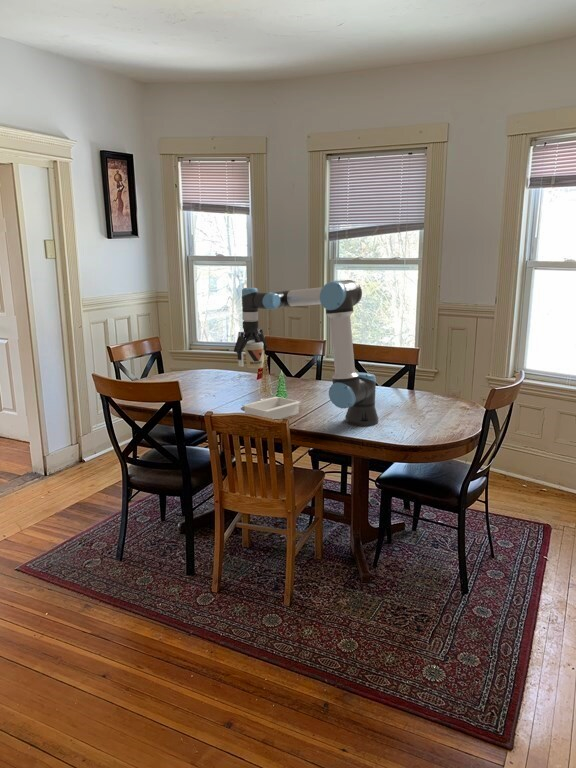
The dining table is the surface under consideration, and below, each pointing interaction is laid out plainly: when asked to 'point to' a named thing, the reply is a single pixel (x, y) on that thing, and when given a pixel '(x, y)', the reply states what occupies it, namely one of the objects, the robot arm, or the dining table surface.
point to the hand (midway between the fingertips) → (251, 364)
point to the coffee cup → (254, 354)
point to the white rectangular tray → (273, 408)
